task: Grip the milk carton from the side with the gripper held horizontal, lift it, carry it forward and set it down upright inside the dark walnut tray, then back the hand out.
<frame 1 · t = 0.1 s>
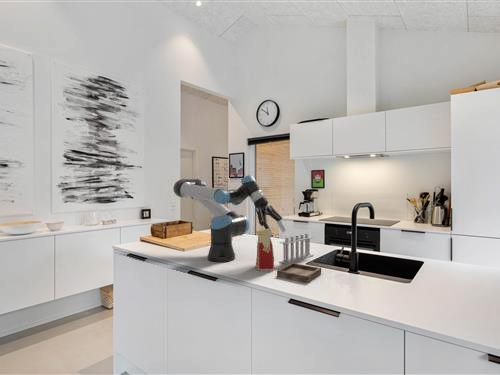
hand: (278, 233, 157), 15 cm above the worktop, fingers open, 13 cm apart
test tube rack: (297, 259, 162), on the worktop
walnut tray: (299, 275, 135), on the worktop
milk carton: (264, 268, 146), on the worktop
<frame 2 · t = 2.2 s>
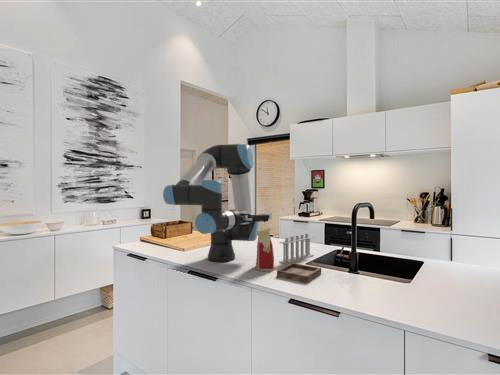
hand: (258, 214, 134), 28 cm above the worktop, fingers open, 13 cm apart
nothing on the worktop moved.
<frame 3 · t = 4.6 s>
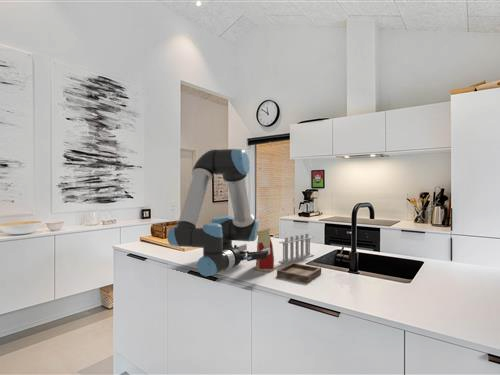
hand: (257, 248, 140), 11 cm above the worktop, fingers open, 13 cm apart
nothing on the worktop moved.
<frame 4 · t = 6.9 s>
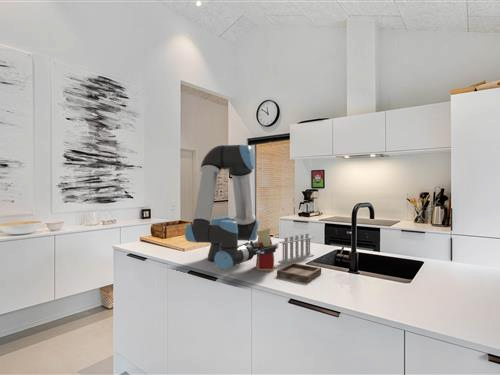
hand: (269, 244, 149), 11 cm above the worktop, fingers closed on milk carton, 9 cm apart
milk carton: (264, 268, 146), on the worktop, touching gripper
everything else where it was.
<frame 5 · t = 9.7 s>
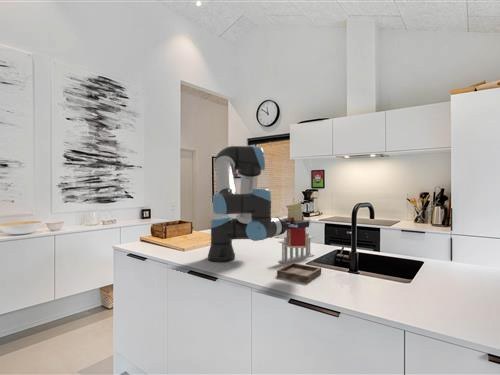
hand: (299, 220, 138), 24 cm above the worktop, fingers closed on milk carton, 9 cm apart
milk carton: (295, 246, 135), point 13 cm above the worktop, touching gripper
when the fingers open (13 cm above the worktop, at t = 12.8 s): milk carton drops 1 cm, resting on walnut tray.
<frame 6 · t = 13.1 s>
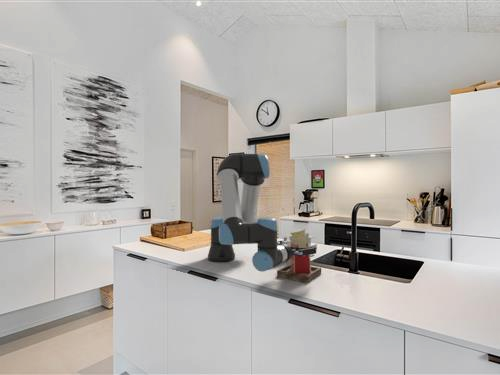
hand: (302, 244, 138), 13 cm above the worktop, fingers open, 13 cm apart
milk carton: (299, 273, 135), point 1 cm above the worktop, touching walnut tray
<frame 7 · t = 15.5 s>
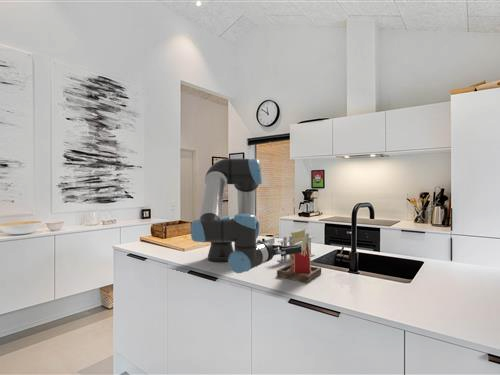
hand: (287, 242, 127), 17 cm above the worktop, fingers open, 13 cm apart
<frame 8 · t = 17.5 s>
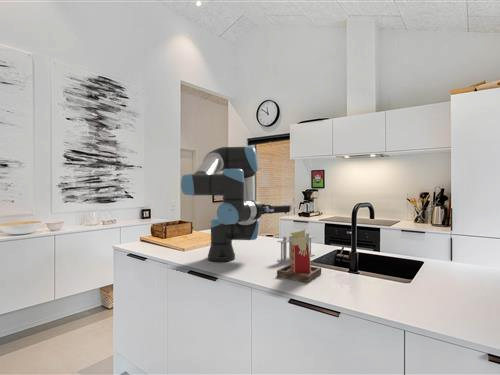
hand: (277, 206, 130), 32 cm above the worktop, fingers open, 13 cm apart
at the end: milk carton inside the target area on the walnut tray (0.1 cm from its centre), point 1.0 cm above the walnut tray's base; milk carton tilted 0°; the gripper is holding nothing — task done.
